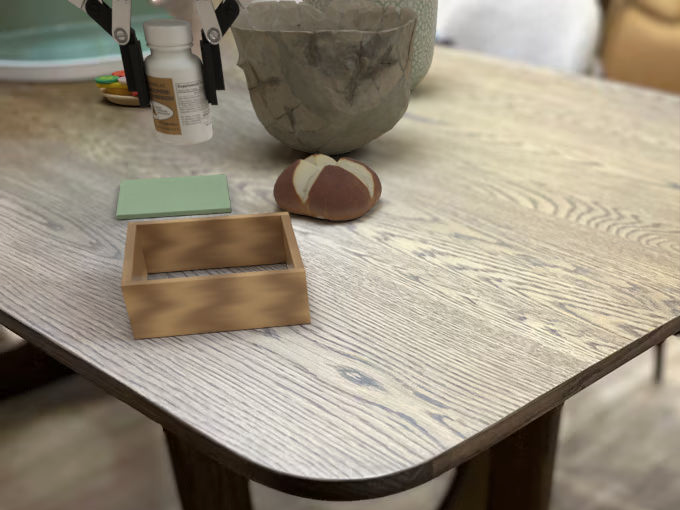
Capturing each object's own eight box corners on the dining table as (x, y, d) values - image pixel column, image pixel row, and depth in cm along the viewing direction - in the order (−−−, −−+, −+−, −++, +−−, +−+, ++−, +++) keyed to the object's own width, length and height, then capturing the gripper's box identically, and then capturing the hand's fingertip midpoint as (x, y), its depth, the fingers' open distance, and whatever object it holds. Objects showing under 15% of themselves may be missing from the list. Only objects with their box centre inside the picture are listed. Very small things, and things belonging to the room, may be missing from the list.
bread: (345, 230, 88) (342, 179, 85) (259, 211, 92) (252, 161, 89) (400, 200, 95) (399, 152, 92) (318, 183, 99) (314, 136, 96)
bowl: (449, 145, 112) (450, 8, 101) (346, 188, 98) (336, 36, 88) (321, 119, 120) (311, -9, 110) (211, 156, 107) (187, 13, 97)
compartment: (134, 339, 69) (120, 286, 66) (139, 271, 80) (127, 222, 77) (311, 323, 72) (305, 271, 69) (293, 259, 82) (288, 211, 79)
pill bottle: (147, 136, 67) (124, 20, 62) (195, 127, 70) (178, 15, 64) (174, 149, 65) (153, 30, 60) (223, 140, 67) (208, 24, 62)
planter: (319, 73, 142) (307, -70, 129) (442, 76, 141) (443, -68, 128) (298, 104, 126) (282, -56, 114) (436, 107, 126) (436, -52, 113)
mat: (117, 220, 90) (115, 215, 89) (121, 184, 98) (120, 180, 98) (231, 212, 92) (230, 207, 91) (226, 178, 100) (225, 174, 100)
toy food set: (203, 89, 133) (199, 65, 130) (174, 110, 123) (170, 84, 121) (122, 85, 134) (116, 61, 131) (87, 106, 124) (80, 81, 122)
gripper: (257, -218, 57) (284, 88, 70) (-9, -232, 54) (69, 92, 67) (265, -221, 52) (293, 112, 64) (-29, -236, 49) (60, 117, 61)
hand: (178, 98), depth 65 cm, fingers closed on pill bottle, 4 cm apart
